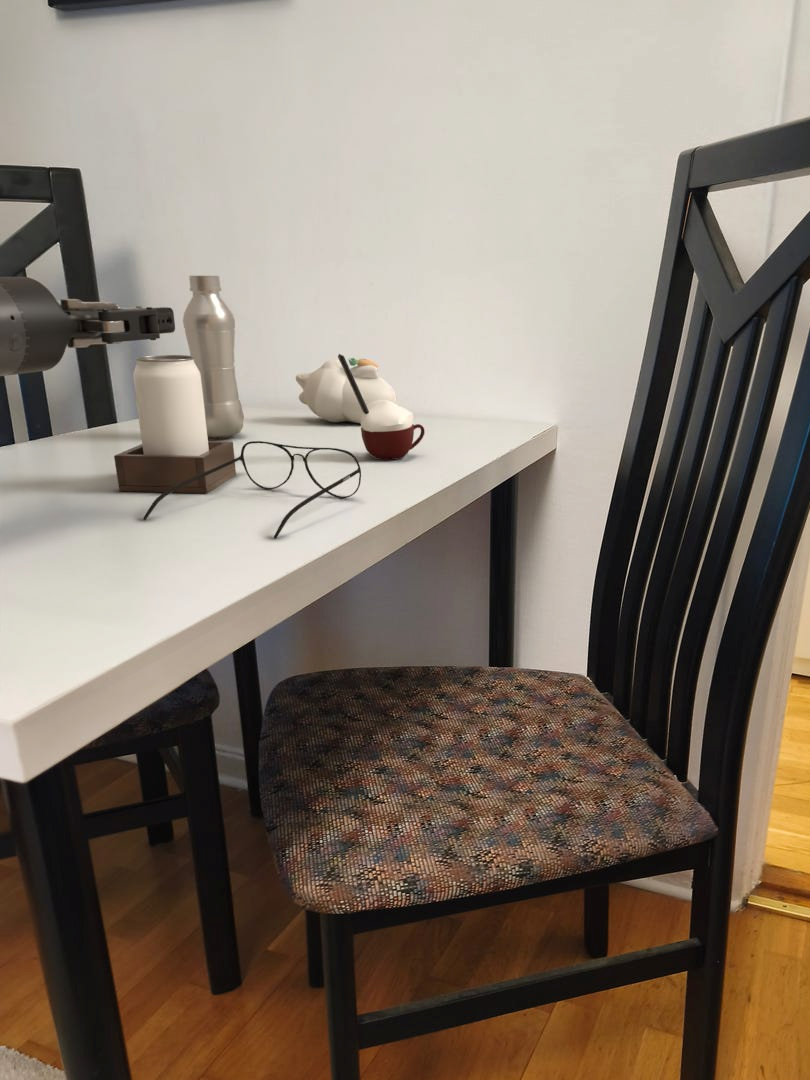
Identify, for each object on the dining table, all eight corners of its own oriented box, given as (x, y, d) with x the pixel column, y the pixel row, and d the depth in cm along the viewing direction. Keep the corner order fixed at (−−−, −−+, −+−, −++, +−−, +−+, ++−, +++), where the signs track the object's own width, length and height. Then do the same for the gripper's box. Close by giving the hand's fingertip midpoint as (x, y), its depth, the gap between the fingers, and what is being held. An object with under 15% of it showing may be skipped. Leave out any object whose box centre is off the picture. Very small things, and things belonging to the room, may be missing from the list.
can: (196, 468, 98) (183, 353, 93) (222, 478, 93) (209, 358, 88) (137, 475, 94) (120, 356, 89) (161, 486, 89) (145, 361, 84)
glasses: (366, 500, 87) (361, 450, 85) (279, 558, 75) (270, 501, 73) (246, 486, 92) (238, 438, 90) (147, 537, 80) (134, 484, 78)
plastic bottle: (184, 440, 117) (165, 275, 109) (213, 431, 123) (197, 275, 115) (228, 443, 115) (211, 276, 107) (255, 434, 121) (241, 275, 113)
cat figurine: (401, 356, 128) (300, 341, 129) (389, 391, 123) (284, 376, 124) (403, 408, 136) (308, 394, 137) (391, 444, 131) (292, 429, 132)
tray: (118, 491, 90) (113, 455, 88) (155, 472, 98) (151, 439, 97) (207, 493, 89) (203, 457, 88) (236, 474, 98) (233, 441, 96)
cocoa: (425, 452, 110) (424, 351, 105) (421, 462, 104) (419, 355, 100) (349, 451, 110) (344, 350, 106) (340, 461, 104) (335, 355, 100)
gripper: (44, 279, 67) (191, 277, 81) (-84, 274, 72) (74, 273, 86) (61, 382, 70) (200, 363, 84) (-63, 370, 75) (86, 354, 89)
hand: (136, 317), depth 85 cm, fingers open, 8 cm apart
